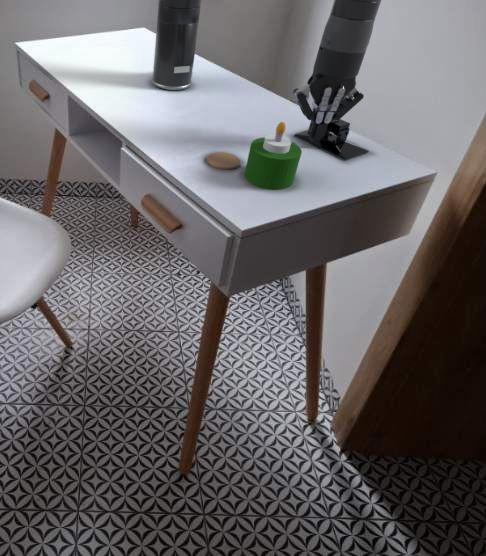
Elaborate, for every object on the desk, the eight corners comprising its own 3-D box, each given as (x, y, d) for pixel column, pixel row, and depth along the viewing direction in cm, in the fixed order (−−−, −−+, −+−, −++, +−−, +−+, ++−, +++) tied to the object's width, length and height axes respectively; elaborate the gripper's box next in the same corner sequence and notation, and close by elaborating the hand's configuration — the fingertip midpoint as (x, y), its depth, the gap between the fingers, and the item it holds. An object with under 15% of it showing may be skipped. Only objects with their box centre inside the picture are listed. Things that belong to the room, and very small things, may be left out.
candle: (235, 169, 91) (246, 114, 84) (275, 163, 93) (289, 109, 87) (260, 192, 85) (274, 135, 78) (303, 185, 87) (320, 129, 81)
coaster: (203, 154, 95) (203, 152, 95) (234, 153, 96) (235, 151, 95) (211, 169, 90) (211, 167, 90) (244, 169, 91) (244, 167, 91)
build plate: (293, 136, 103) (299, 113, 100) (317, 129, 106) (324, 106, 103) (345, 160, 95) (353, 136, 92) (369, 152, 98) (378, 128, 95)
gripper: (370, 38, 91) (338, 131, 102) (298, 37, 90) (274, 131, 101) (391, 51, 85) (355, 148, 96) (315, 50, 84) (287, 148, 95)
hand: (314, 139), depth 98 cm, fingers closed
